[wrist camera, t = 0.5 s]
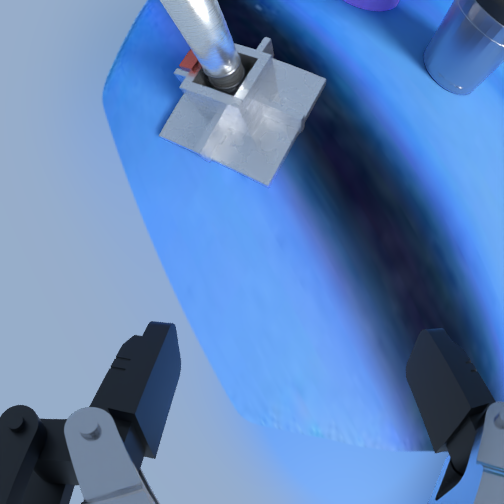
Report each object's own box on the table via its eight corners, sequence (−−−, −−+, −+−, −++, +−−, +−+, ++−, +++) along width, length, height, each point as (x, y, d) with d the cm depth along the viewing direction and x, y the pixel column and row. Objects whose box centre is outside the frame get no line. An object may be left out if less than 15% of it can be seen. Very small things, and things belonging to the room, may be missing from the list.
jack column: (233, 84, 35) (164, -52, 12) (261, 94, 34) (213, -52, 11) (218, 109, 35) (129, -18, 12) (246, 120, 35) (176, -17, 12)
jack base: (219, 44, 37) (197, -3, 26) (330, 83, 35) (337, 34, 24) (158, 141, 39) (116, 111, 28) (271, 193, 36) (258, 173, 26)
